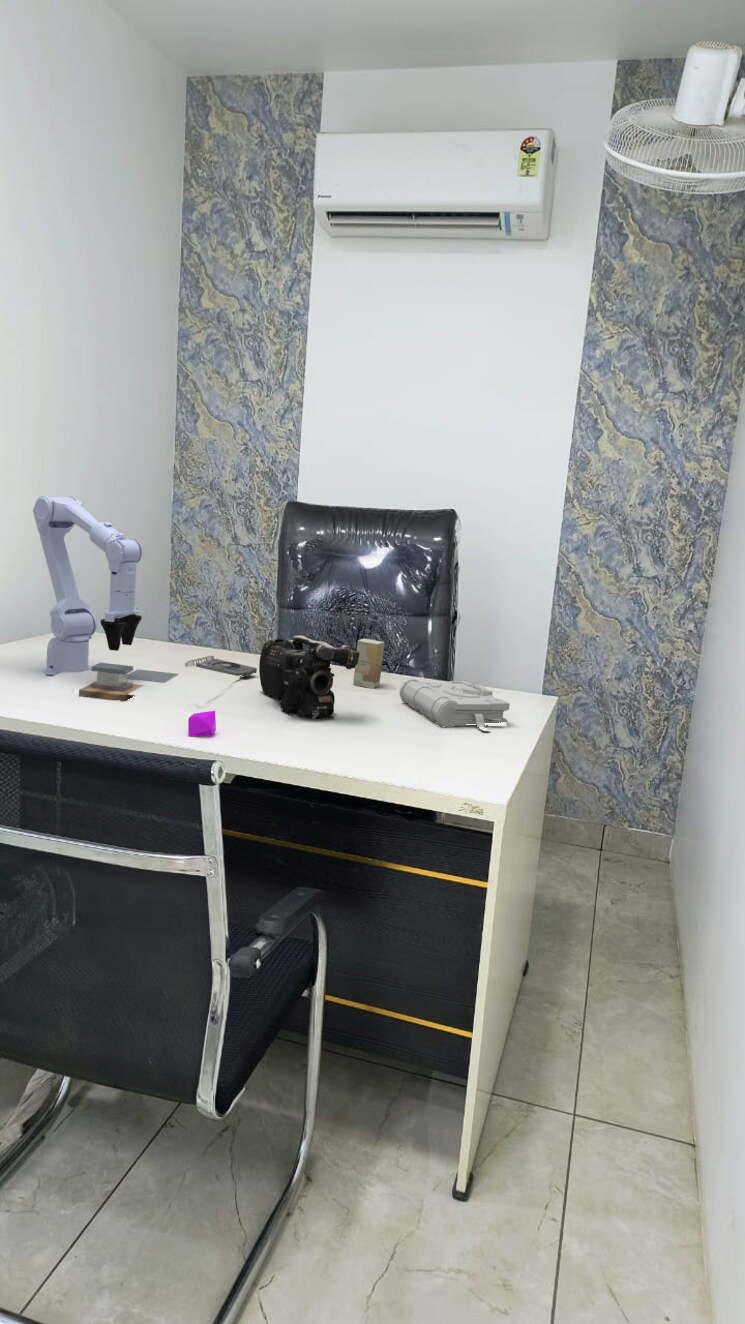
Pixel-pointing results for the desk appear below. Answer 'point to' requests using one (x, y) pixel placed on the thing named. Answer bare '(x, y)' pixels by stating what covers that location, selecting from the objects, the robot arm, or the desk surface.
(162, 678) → the stand
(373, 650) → the skincare box
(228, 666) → the graphics card
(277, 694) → the movie camera
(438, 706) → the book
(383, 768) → the desk surface
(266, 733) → the desk surface
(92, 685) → the block
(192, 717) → the crystal
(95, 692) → the stand
